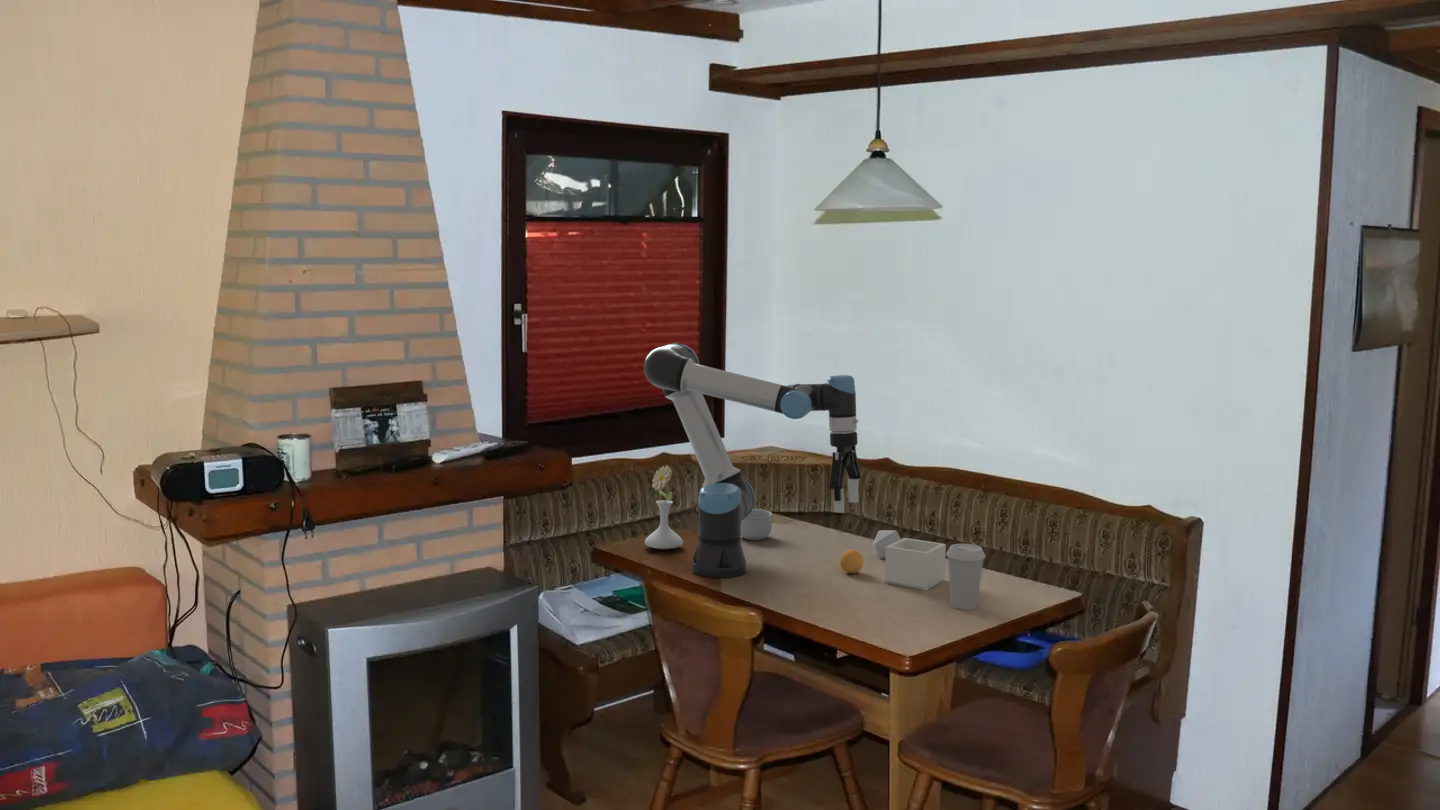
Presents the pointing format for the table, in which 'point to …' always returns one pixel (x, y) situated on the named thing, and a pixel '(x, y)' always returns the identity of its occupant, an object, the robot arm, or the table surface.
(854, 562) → the ball
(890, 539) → the die
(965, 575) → the coffee cup
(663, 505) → the flower in vase
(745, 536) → the teacup
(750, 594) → the table surface
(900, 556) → the white open box
